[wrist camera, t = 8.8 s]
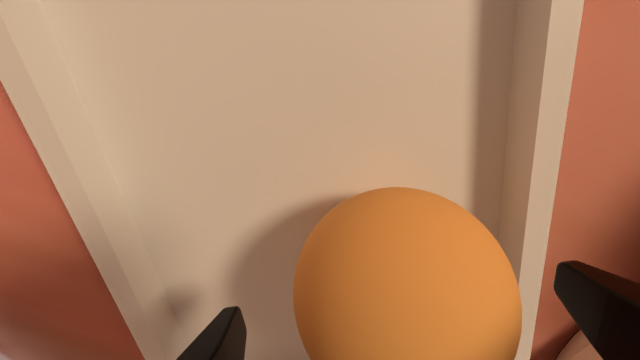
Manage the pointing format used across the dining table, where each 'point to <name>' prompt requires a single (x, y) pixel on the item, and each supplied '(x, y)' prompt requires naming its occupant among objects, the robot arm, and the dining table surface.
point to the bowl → (579, 349)
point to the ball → (405, 283)
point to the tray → (283, 137)
